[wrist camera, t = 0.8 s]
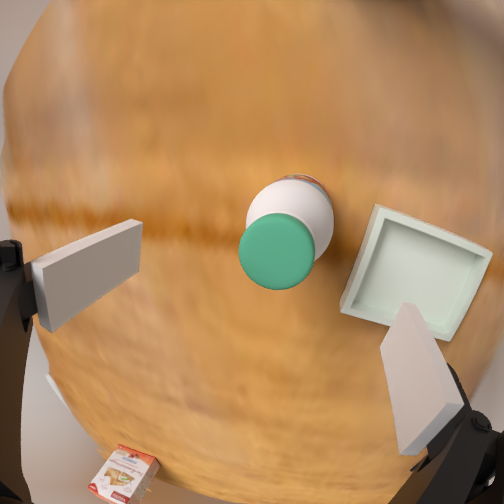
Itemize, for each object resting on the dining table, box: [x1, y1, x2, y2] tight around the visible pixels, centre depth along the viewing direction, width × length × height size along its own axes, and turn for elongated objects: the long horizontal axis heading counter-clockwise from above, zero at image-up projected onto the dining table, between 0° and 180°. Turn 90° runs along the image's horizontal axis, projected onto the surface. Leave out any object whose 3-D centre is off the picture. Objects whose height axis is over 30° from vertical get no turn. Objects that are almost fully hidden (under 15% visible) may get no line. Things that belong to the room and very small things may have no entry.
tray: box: [340, 203, 493, 342], centre depth 33 cm, size 14×18×3 cm
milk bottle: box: [239, 174, 334, 290], centre depth 26 cm, size 8×8×20 cm
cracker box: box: [88, 444, 160, 504], centre depth 58 cm, size 14×6×21 cm, turn 95°
